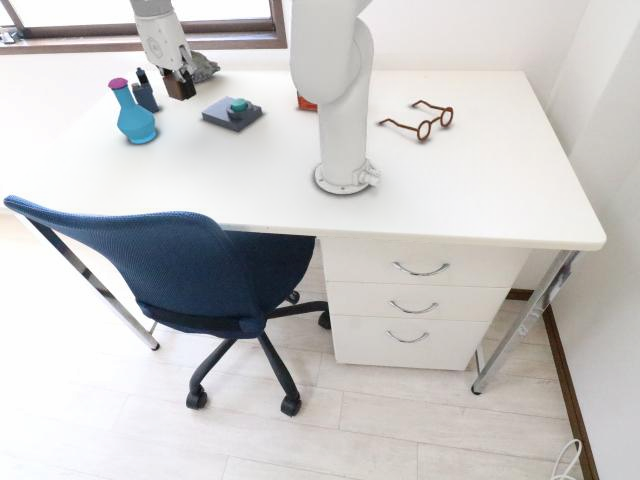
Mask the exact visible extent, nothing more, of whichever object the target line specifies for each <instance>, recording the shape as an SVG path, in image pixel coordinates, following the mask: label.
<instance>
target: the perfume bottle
mask: <svg viewBox="0 0 640 480" xmlns="http://www.w3.org/2000/svg"><path fill="white" fill-rule="evenodd" d="M107 87H108V88H110V90H111V91H112V92H113V94H114V96H115V98H116V100H117V102H118V104H119V106H120V110H119V113H118V117H117V122H116V126H117V128H118V130H119V131H120V132H121V133H122V134H123V135H124V136H125V137H126V138H128V139H129V140H130V142H131V143H133V144H138V145H139V144H144V143H147V142H150V141H152V140H153V139H154V138H155V137H156V135H157V133H156V119H155V115H154V113H153V112H152V113H151V112H149V111H148V110H146V109H144V108H143V107H141V106H140V105H138V103H137V102H136V100H135V98H134V95H132V94H133V93H132V92H131V90H130V88H129V79H126V78H124V77H115V78H112V79H111V80H109V82H108V83H107Z"/></svg>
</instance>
